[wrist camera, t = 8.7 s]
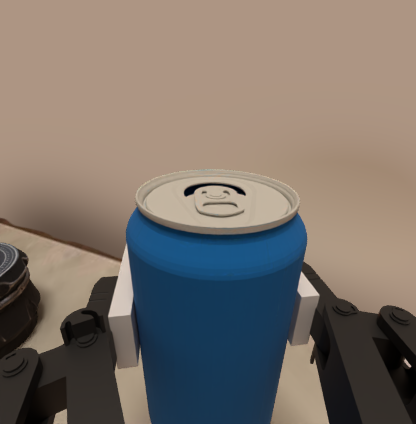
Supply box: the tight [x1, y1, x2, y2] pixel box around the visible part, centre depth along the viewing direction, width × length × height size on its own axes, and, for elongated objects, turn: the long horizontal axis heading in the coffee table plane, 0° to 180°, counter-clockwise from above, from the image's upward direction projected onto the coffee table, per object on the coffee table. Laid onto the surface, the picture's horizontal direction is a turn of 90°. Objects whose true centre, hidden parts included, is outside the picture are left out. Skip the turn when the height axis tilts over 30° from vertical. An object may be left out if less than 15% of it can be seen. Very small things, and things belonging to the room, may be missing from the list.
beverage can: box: [126, 169, 307, 424], centre depth 12 cm, size 6×6×12 cm
